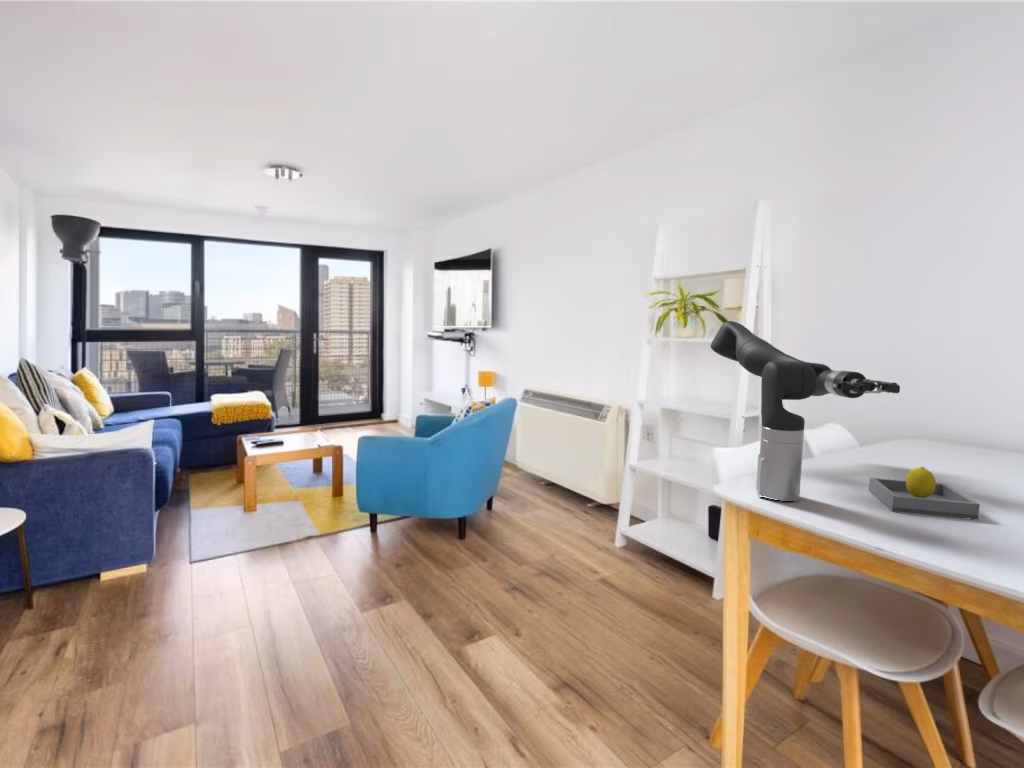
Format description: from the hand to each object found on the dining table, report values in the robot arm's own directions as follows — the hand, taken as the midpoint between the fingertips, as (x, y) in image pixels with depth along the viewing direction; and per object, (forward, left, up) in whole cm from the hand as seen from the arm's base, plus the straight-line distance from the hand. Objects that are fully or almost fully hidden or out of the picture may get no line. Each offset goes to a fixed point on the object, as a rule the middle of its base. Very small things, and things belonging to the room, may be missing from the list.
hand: (881, 388), depth 136 cm
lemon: (+5, -14, -25) cm, 29 cm away
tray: (+5, -14, -26) cm, 30 cm away
